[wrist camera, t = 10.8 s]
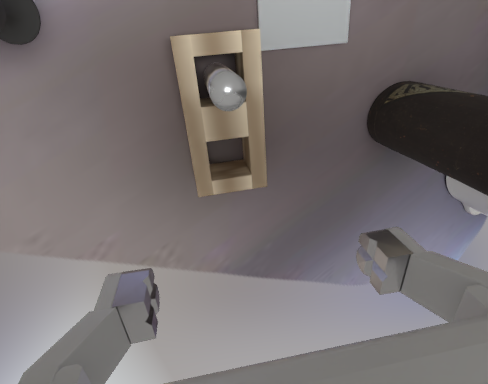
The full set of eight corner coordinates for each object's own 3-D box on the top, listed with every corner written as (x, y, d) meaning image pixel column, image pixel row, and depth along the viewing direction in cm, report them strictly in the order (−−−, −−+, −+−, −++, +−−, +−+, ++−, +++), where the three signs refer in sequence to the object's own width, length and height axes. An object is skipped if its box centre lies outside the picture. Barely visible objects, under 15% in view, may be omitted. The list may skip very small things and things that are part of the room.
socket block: (249, 30, 30) (260, 28, 26) (257, 169, 38) (267, 186, 33) (172, 37, 29) (170, 36, 25) (196, 178, 37) (198, 197, 32)
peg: (229, 61, 31) (245, 70, 22) (232, 90, 33) (248, 109, 24) (201, 64, 31) (207, 74, 22) (205, 93, 32) (212, 113, 24)
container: (438, 109, 38) (649, 164, 21) (386, 158, 41) (538, 246, 23) (408, 62, 35) (633, 81, 17) (352, 119, 37) (502, 188, 19)
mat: (352, -48, 29) (354, -49, 28) (345, 42, 32) (347, 42, 32) (255, -42, 27) (255, -44, 27) (259, 50, 31) (260, 51, 31)
